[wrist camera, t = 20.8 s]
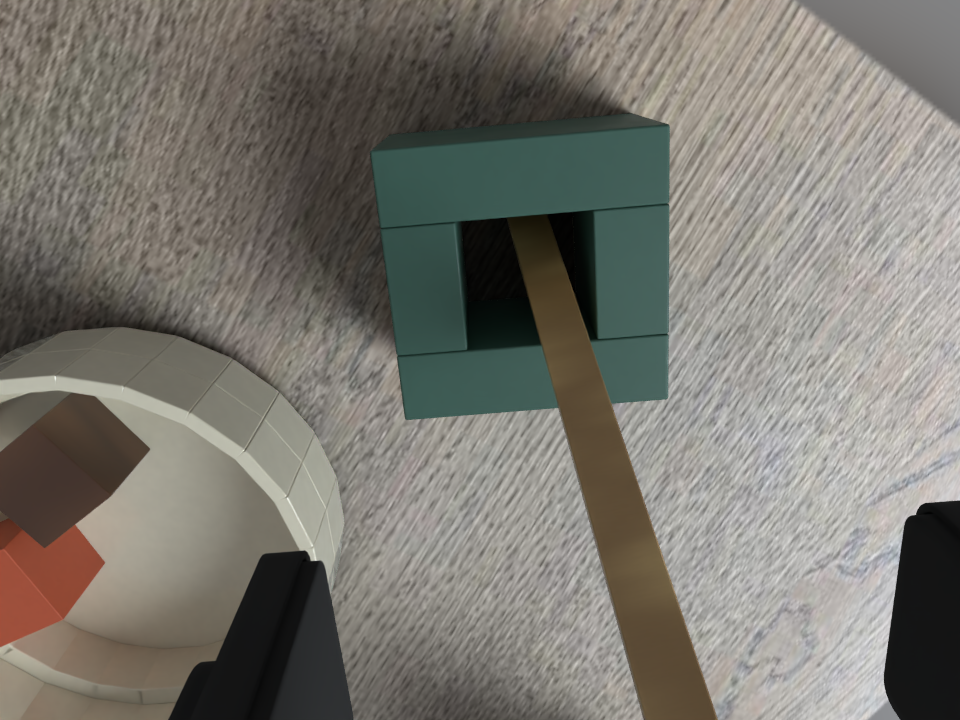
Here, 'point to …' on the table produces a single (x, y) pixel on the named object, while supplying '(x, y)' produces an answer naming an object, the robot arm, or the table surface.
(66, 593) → the block
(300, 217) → the table surface
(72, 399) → the block
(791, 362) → the table surface
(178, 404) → the bowl
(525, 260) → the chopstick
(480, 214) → the holder
